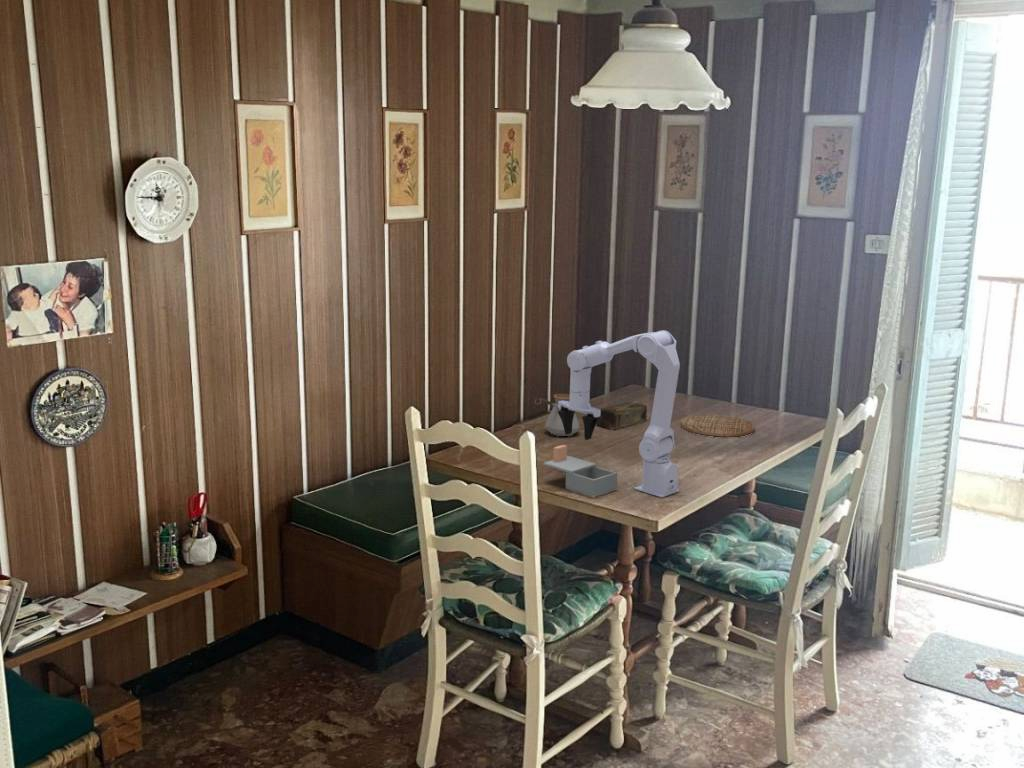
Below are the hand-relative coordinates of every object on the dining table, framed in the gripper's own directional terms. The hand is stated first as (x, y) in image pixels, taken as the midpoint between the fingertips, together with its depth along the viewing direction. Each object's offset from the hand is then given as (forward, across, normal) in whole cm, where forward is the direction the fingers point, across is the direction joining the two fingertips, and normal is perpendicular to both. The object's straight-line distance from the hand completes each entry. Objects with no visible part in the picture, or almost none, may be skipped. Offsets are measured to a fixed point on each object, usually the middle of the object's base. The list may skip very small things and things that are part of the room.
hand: (577, 436), depth 293 cm
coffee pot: (+11, +29, -22) cm, 38 cm away
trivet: (+11, 0, -73) cm, 74 cm away
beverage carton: (+11, +25, -52) cm, 59 cm away
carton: (+10, -14, +10) cm, 20 cm away
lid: (+5, -6, +10) cm, 13 cm away
